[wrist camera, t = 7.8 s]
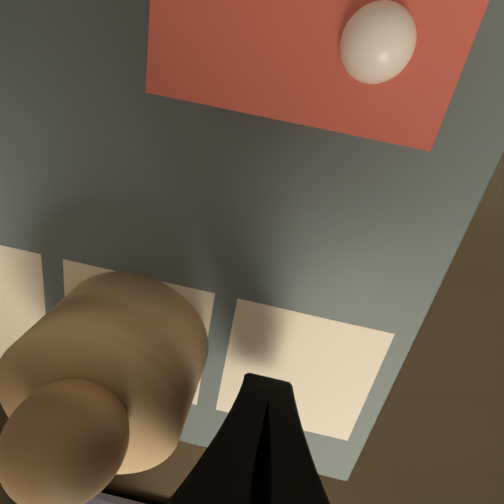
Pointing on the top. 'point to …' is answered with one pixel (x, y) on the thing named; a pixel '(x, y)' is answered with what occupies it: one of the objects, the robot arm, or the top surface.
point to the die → (317, 60)
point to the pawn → (98, 388)
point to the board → (233, 214)
